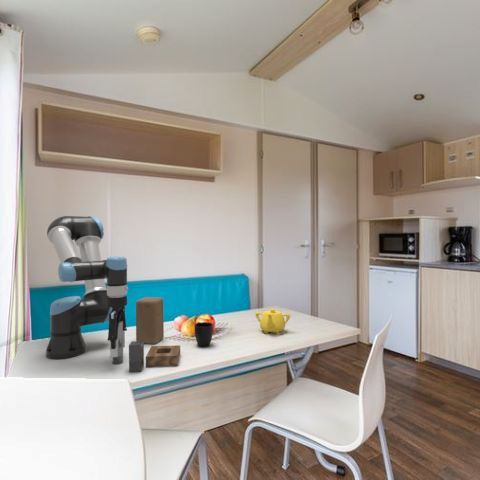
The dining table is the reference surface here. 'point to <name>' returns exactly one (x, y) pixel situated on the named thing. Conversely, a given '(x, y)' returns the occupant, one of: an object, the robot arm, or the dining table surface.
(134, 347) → the square bit
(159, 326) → the wooden block
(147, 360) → the bore block
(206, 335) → the mug
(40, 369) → the dining table surface
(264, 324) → the teapot
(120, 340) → the bar
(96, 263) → the robot arm
